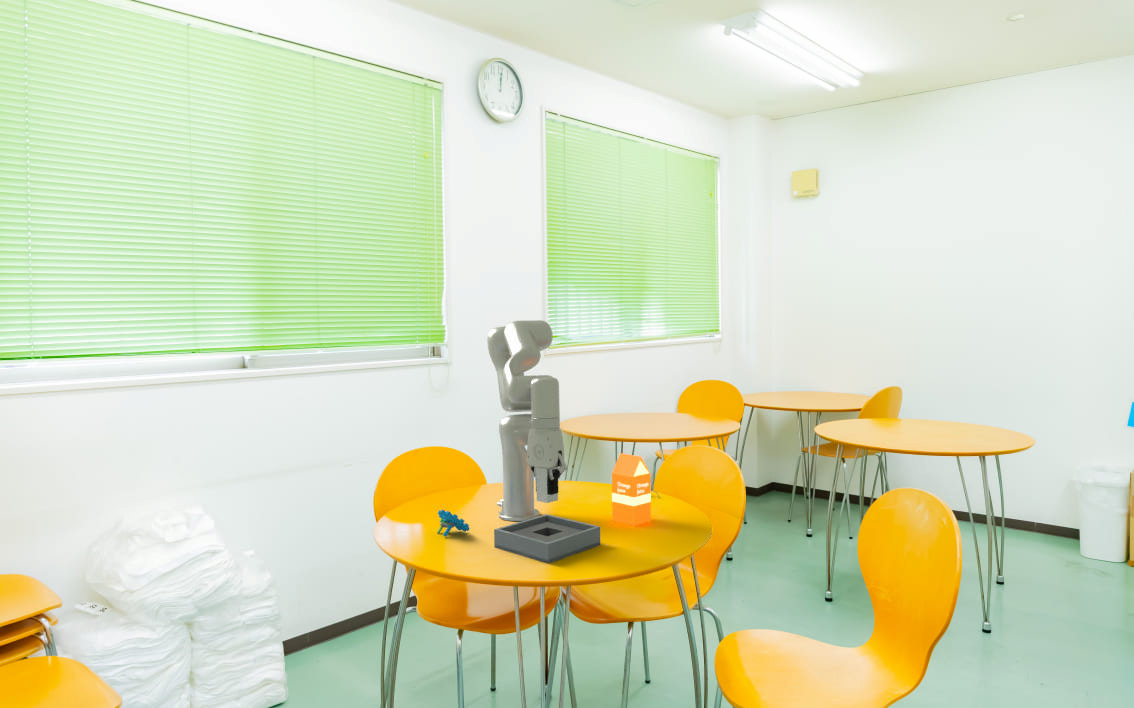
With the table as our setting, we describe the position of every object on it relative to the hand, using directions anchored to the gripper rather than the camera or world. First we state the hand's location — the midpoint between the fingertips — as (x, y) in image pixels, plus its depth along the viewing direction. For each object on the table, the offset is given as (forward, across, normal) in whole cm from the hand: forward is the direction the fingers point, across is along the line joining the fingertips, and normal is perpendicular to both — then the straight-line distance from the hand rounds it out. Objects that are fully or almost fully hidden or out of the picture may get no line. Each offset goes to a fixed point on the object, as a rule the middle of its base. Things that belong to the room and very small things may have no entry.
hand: (547, 492), depth 188 cm
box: (+15, -1, 0) cm, 15 cm away
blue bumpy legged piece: (+15, -27, -7) cm, 32 cm away
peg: (+2, 0, 0) cm, 2 cm away
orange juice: (+15, +1, +34) cm, 37 cm away
